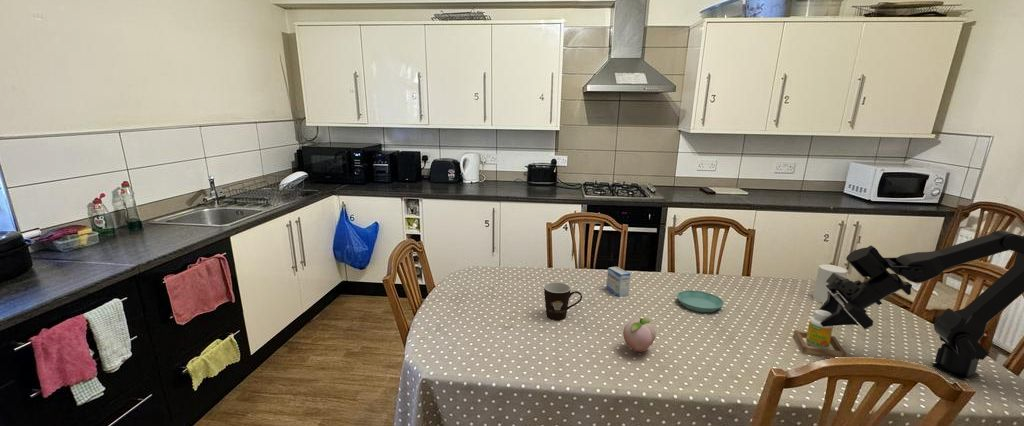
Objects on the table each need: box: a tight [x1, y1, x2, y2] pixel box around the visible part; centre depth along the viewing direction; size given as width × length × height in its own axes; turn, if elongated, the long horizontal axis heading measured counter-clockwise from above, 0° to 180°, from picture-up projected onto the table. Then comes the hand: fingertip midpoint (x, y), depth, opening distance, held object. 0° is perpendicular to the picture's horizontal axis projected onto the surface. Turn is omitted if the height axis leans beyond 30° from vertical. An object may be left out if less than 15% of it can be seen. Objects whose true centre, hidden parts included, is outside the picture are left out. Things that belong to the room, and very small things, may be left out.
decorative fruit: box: [622, 317, 657, 353], centre depth 116 cm, size 9×8×10 cm
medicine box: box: [605, 266, 631, 298], centre depth 155 cm, size 8×4×9 cm, turn 25°
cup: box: [812, 263, 848, 304], centre depth 151 cm, size 8×8×12 cm
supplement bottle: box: [806, 309, 834, 349], centre depth 119 cm, size 5×5×10 cm
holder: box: [792, 329, 848, 359], centre depth 120 cm, size 10×10×2 cm
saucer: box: [676, 289, 725, 313], centre depth 146 cm, size 15×15×3 cm
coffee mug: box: [543, 281, 583, 322], centre depth 135 cm, size 12×9×10 cm
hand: (818, 320), depth 119 cm, fingers closed on supplement bottle, 5 cm apart
